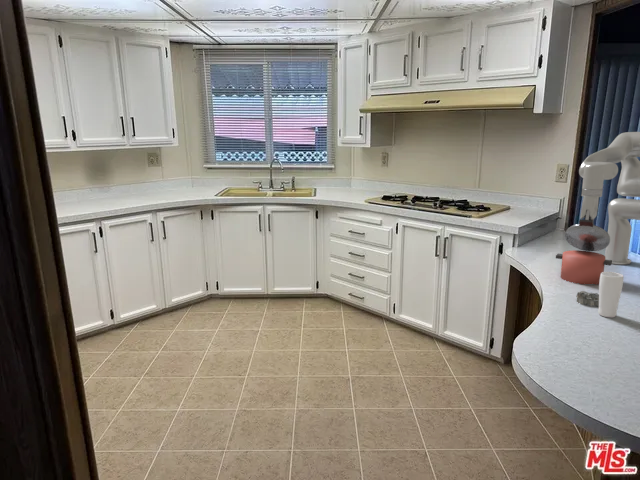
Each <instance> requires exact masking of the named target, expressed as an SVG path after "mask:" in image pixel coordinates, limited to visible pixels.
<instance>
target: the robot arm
mask: <svg viewBox="0 0 640 480" xmlns="http://www.w3.org/2000/svg"><path fill="white" fill-rule="evenodd" d="M639 158H640V131H627V132H622V133H619V134H618V135H617V136H616V137H615V138H614V140H613V141H612V142H611V143H610V144H609V146H607V147H606V148H603V149H601V150H598V151H596V152H594V153H591V154H589V155H588V156H587V157H586V158H585V159H584V160H583V161H582V163H581V165H580V166H579V169H578V174H579V176H580V177H581V178H582V187H581V197H582V204H581V210H580V219H582V220H593V221H594V220H595V219H596V217H597V215H598V210H599V209H598V208H599V199H600V198H602V197H603V191H604V181H606V180H607V181H608V180H612V179H614V178H615V177H617V175H618V173H619V167H618V165H617V163H621V168H620V169H621V170H620V174H619V178H618V183H617V187H616V193H617V194H618V195H619V196H623V197H630V198H620V197H619V198H614V199H612V200H611V201H610V202H609V203H608V206H607V209H608V210H607V211H608V225H607V226H608V227H607V233H608V234H609V236H610V243H609V245H608V246H607V247H606V248H605V249H604V250H605V252H604V256H605V260H612V264H611V265H619V266H620V265H622V266H624V265H630V264H631V263H632V260H631V259H629V251H630V243H631V236H632V234H631V233H632V230H633V228H632V224H631V223H630V221H629V220H635V221H636V220H637V221H640V199H637V198H640V160H639ZM631 197H632V198H631ZM633 198H634V199H633ZM635 198H636V199H635Z"/></svg>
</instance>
